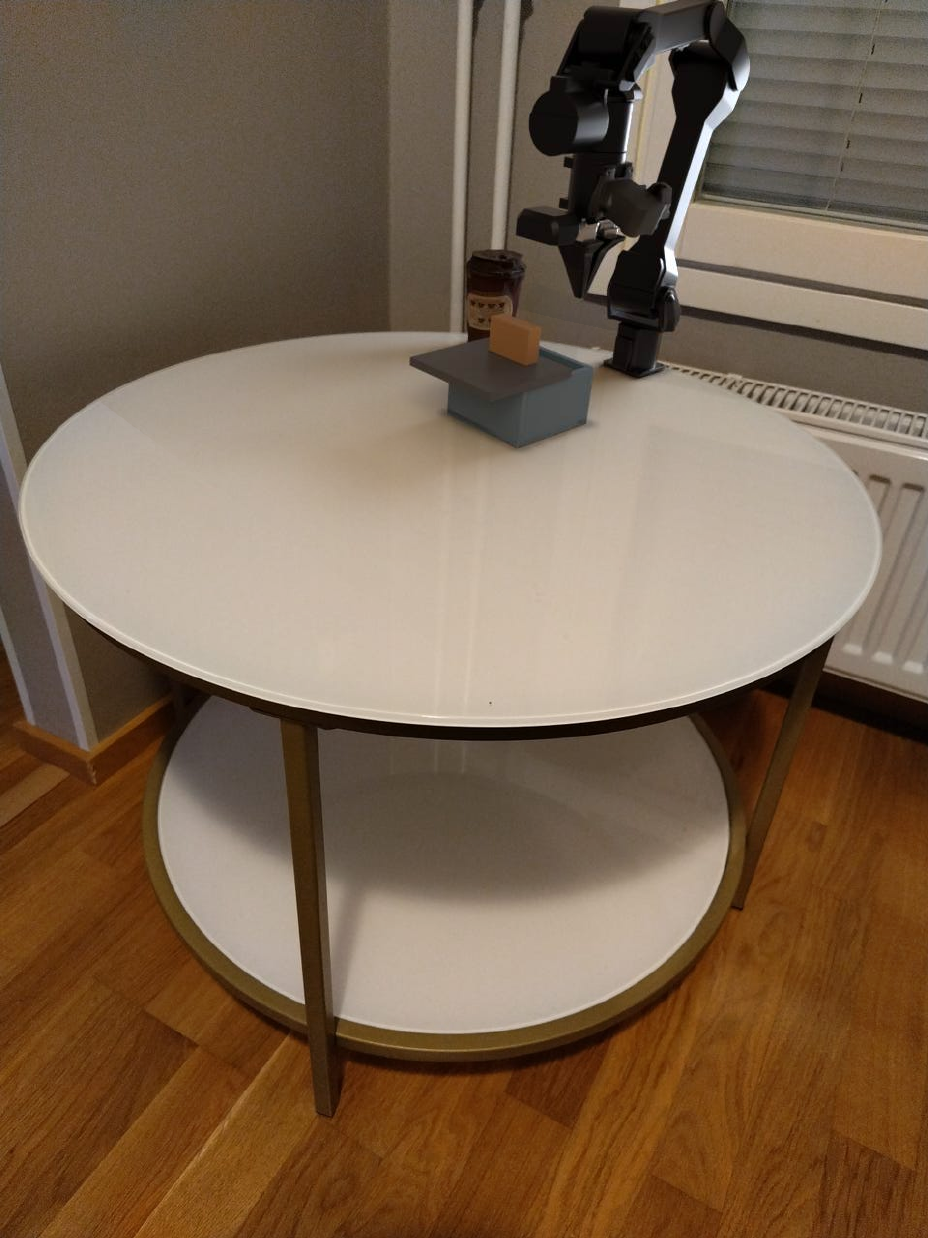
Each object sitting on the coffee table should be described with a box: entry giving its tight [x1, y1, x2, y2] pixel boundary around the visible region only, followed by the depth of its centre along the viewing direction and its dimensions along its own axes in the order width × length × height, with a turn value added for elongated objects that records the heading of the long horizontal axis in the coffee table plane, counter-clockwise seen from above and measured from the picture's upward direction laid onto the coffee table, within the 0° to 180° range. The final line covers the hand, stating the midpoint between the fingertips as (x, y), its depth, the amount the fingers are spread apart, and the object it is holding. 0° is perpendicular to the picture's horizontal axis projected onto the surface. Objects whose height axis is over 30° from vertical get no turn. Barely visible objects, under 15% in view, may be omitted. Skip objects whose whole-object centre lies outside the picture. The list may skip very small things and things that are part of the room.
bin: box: [446, 345, 595, 449], centre depth 102 cm, size 12×12×7 cm
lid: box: [409, 313, 572, 402], centre depth 96 cm, size 13×13×5 cm
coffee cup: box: [465, 248, 528, 343], centre depth 121 cm, size 9×8×13 cm
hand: (579, 297), depth 102 cm, fingers closed
